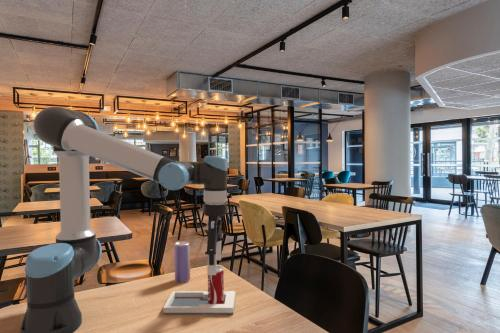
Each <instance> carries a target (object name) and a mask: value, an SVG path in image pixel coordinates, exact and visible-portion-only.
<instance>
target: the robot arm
mask: <svg viewBox="0 0 500 333" xmlns="http://www.w3.org/2000/svg"><path fill="white" fill-rule="evenodd" d="M33 129H34V130H33V131H34V133H35V135H36V136H37V138H38V139H40V140H41V142H43V143H45V144H47V145H50V146H52V152H53V154H55V155H56V156H57V157H58V167H59V168H58V169H59V173H58V176H59V205H60V206H59V207H60V212H59V213H60V231H59V232H58V233H57V234H56V236H55V243H51V244H46V245H44V246H43V245H42V246H40V247H37V248H35V249H33V250H32V251H31V252H30V253H29V254H28V255H27V256H26V259H25V267H24V272H25V283H26V285H25V286H26V288H25V289H26V310H25V314H24V317H23V319H22V322H21V325H20V328H19V333H74V332H75V331H77V330H78V329H79V328H80V327H81V325H82V323H83V319H82V318H83V315H82V312H81V309H80V307H79V305H78V302H77V300H76V297H75V281H76V280H77V279H79V278H80V277H81V276H83V275H84V274H85V273H87V272H89V271H91V270H92V269H93V268H94V267H95V266H96V265H97V264H98V263H99V261H100V259H101V258H102V253H103V252H102V250H103V249H102V248H103V247H102V245H101V242H100V240H98V238H97V237H96V235H97V234H96V231H95V230H94V229H93V228H92V227H91V201H90V200H91V198H90V197H91V194H90V192H91V191H90V157H92V158H95V159H97V160H100V161H102V162H105V163H108V164H110V165H112V166H115V167H118V168H120V169H122V170H125V171H128V172H131V173H133V174H135V175H139V176H140V177H143V178H146V179H149V180H151V181H153V182H156V183H157V184H160V185H161V186H162V188H164V189H166V190H169V191H179V190H181V189H183V188H184V187H186V186H188V185H191V186H193V185H195V186H196V185H198V186H203V202H204V204H203V215H204V216H205V217H210V219H209V221H208V222H207V223H208V225H207V226H208V231H207V245H206V251H205V252H204V255H207V268H206V271H207V273H206V274H207V276H208V275H216V266H217V261H221V260H222V242H223V241H224V237H223V235H222V223H223V222H222V217H223V216H226V215H227V213H228V204H227V201H228V199H227V198H228V197H229V195H230V194H229V192H228V191H227V190H228V158H226V156H223V155H221V156H220V155H206V156H204V158H203V161H183V160H182V161H179V160H173V159H171V158H169V157H168V158H167V157H166V156H162V155H161V154H158V153H155V152H154V151H153V152H152V151H151V150H148V149H145V148H143V147H140V146H138V145H135V144H133V143H131V142H128V141H125V140H122V139H120V138H117V137H115V136H112V135H110V134H108V133H105V132H103V131H100V128H99V125H98V122H96V120H95V119H94V118H93V117H92V116H90V115H89V114H87V113H85V112H83V111H80V110H74V109H70V108H69V109H68V108H66V107H65V108H64V107H62V106H50V107H46V108H44V109H42V110H41V111H39V112H38V113H37V114H36V116H35V118H34V120H33ZM40 140H39V141H40Z"/></svg>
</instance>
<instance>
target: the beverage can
mask: <svg viewBox="0 0 500 333" xmlns="http://www.w3.org/2000/svg"><path fill="white" fill-rule="evenodd" d="M173 248H174V251H173V252H174V280H175V282H176V283H178V284H183V283H188V282H189V281H190V279H191V245H190V242H189V241H186V240H185V241H183V240H182V241H177V242H175V243H174V247H173Z"/></svg>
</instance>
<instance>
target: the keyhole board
mask: <svg viewBox="0 0 500 333" xmlns="http://www.w3.org/2000/svg"><path fill="white" fill-rule="evenodd" d="M235 304H236V291H235V290H229V291H228V290H227V291H226V290H224V303H223V304H208V290H199V291H198V290H194V291H193V290H187V291H186V290H178V291H177V290H173V291H172V292H171V293H170V295H169V297H168V299H167V301H166V302H165V304H164V306H162V308H163V310H162V311H163V312H162V315H165V316H167V315H168V316H170V315H172V316H174V315H175V316H176V315H179V316H181V315H183V316H185V315H188V316H190V315H193V316H194V315H195V316H196V315H197V316H198V315H201V316H203V315H205V316H206V315H211V316H212V315H216V316H217V315H223V316H224V315H225V316H226V315H227V316H229V315H231V316H233V315H234V311H235Z"/></svg>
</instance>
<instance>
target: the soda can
mask: <svg viewBox="0 0 500 333" xmlns="http://www.w3.org/2000/svg"><path fill="white" fill-rule="evenodd" d="M224 273H225V272H224V268H223V266H220V265H216V275H207V291H208V304H223V303H224V291H225V282H224V281H225V274H224Z"/></svg>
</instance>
